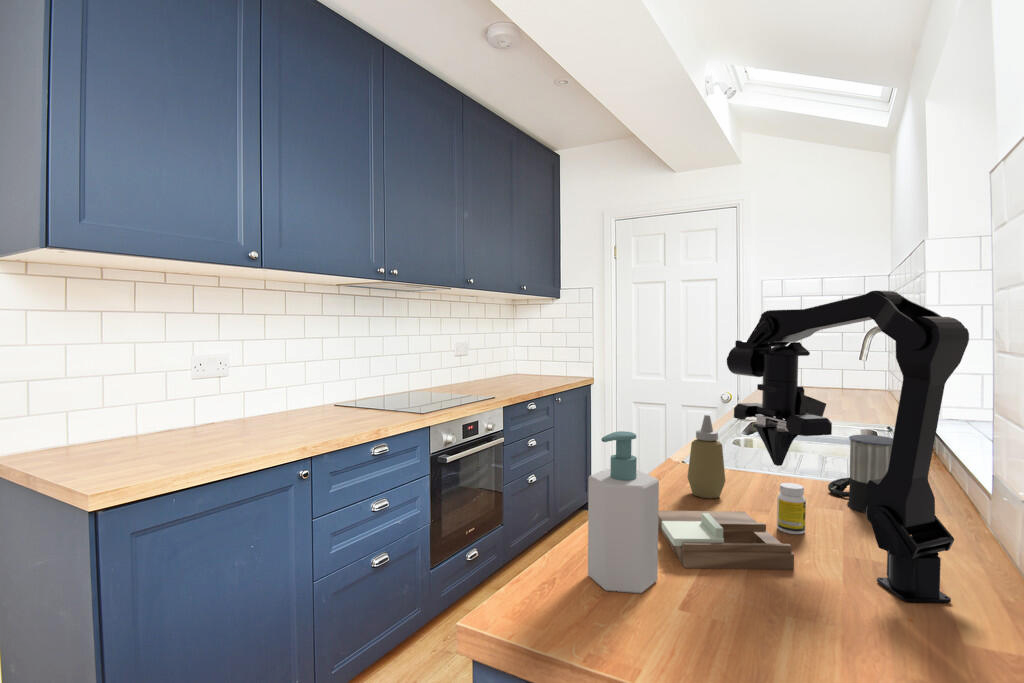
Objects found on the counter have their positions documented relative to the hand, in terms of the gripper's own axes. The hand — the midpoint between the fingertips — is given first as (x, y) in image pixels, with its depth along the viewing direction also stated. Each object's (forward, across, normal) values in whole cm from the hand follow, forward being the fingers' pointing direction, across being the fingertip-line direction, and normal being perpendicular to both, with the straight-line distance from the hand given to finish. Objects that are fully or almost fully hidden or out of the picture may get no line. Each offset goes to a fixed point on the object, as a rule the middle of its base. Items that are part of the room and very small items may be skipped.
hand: (778, 465), depth 102 cm
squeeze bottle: (+13, +24, -1) cm, 27 cm away
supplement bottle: (+13, +1, -4) cm, 14 cm away
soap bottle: (+13, -10, +35) cm, 39 cm away
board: (+13, -1, +13) cm, 18 cm away
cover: (+10, -4, +20) cm, 22 cm away
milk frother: (+13, +12, -31) cm, 35 cm away
